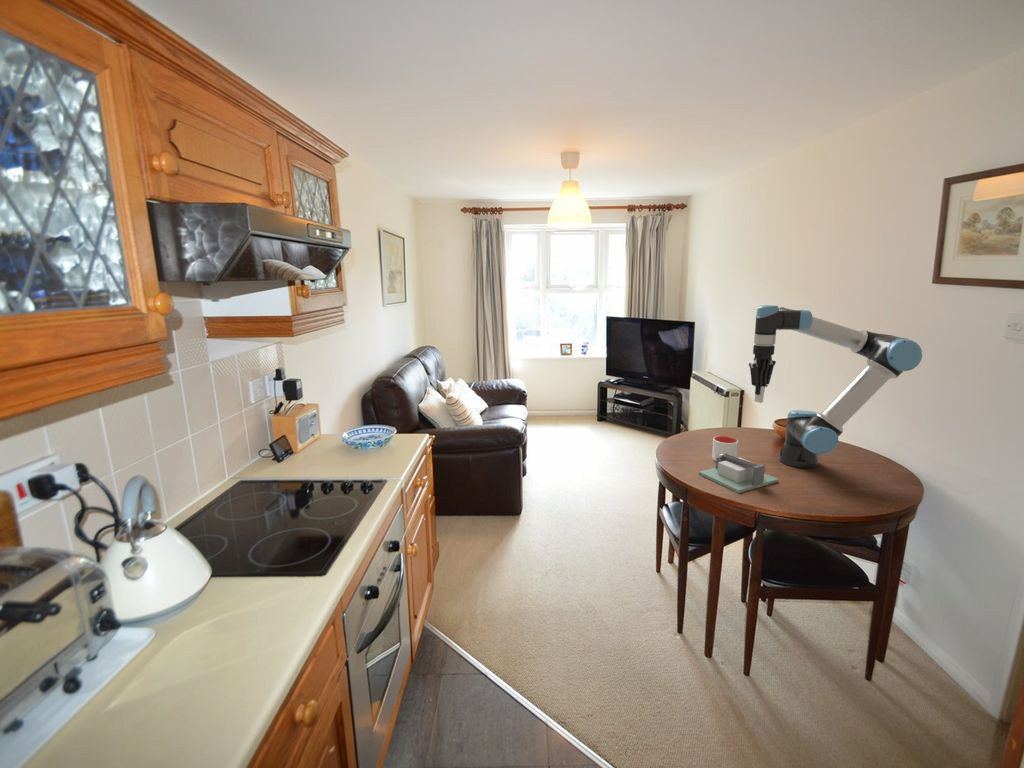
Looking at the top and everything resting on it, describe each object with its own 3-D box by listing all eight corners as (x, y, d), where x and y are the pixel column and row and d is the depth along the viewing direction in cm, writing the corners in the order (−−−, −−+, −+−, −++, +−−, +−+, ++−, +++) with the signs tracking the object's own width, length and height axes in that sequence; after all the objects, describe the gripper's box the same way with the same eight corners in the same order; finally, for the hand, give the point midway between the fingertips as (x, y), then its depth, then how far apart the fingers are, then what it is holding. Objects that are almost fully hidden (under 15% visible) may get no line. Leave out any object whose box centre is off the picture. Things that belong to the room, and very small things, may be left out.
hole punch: (736, 464, 211) (738, 446, 209) (778, 481, 194) (780, 461, 192) (698, 474, 202) (700, 455, 201) (738, 493, 185) (740, 472, 183)
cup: (737, 466, 210) (739, 444, 208) (712, 463, 213) (714, 442, 211) (734, 457, 219) (736, 436, 217) (711, 455, 222) (712, 435, 220)
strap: (725, 455, 205) (725, 452, 205) (760, 466, 190) (760, 464, 190) (718, 457, 203) (718, 454, 203) (752, 468, 188) (752, 466, 188)
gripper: (767, 342, 198) (761, 397, 203) (744, 344, 193) (739, 401, 198) (783, 344, 191) (778, 401, 197) (760, 347, 186) (755, 406, 191)
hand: (758, 401), depth 197 cm, fingers closed
